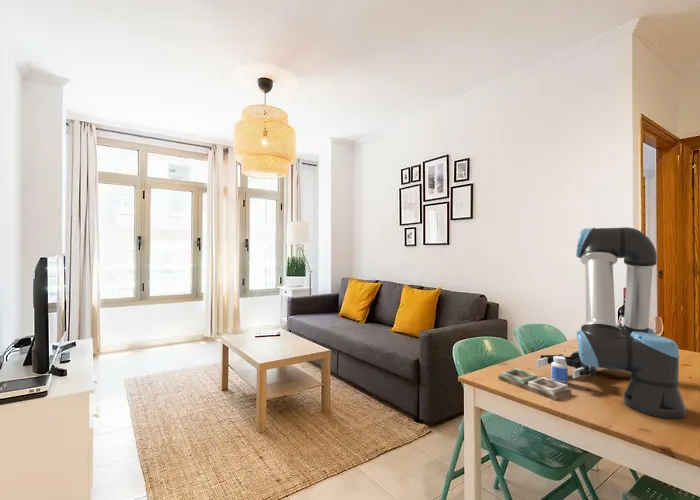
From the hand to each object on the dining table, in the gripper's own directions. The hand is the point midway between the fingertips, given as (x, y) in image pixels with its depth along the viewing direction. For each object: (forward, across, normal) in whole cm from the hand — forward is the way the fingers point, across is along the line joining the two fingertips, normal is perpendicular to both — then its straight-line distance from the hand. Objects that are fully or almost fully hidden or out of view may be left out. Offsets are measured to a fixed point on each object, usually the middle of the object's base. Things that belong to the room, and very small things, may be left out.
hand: (554, 368), depth 133 cm
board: (+9, +3, -6) cm, 11 cm away
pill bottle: (-3, 0, -6) cm, 7 cm away
